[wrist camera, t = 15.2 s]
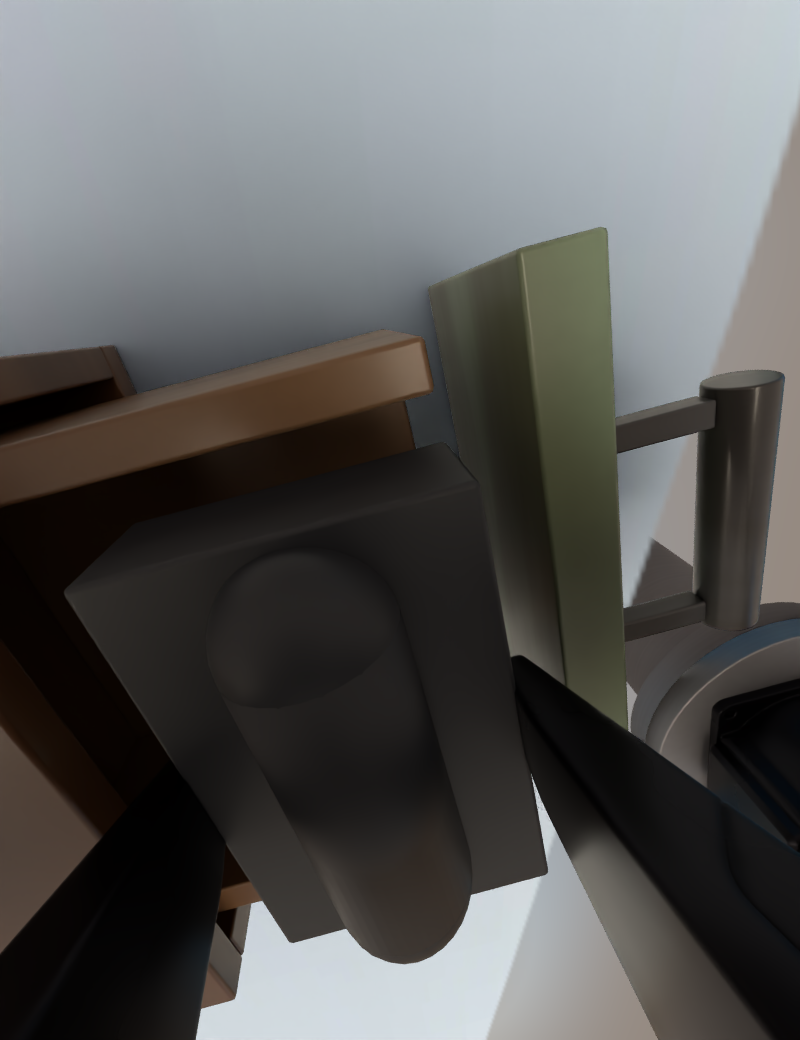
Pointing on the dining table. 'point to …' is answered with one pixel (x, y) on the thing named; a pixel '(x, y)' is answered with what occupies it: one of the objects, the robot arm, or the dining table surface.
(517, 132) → the dining table surface
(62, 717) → the drawer
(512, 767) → the raised capsule plate
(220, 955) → the cabinet
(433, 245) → the dining table surface
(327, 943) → the dining table surface
